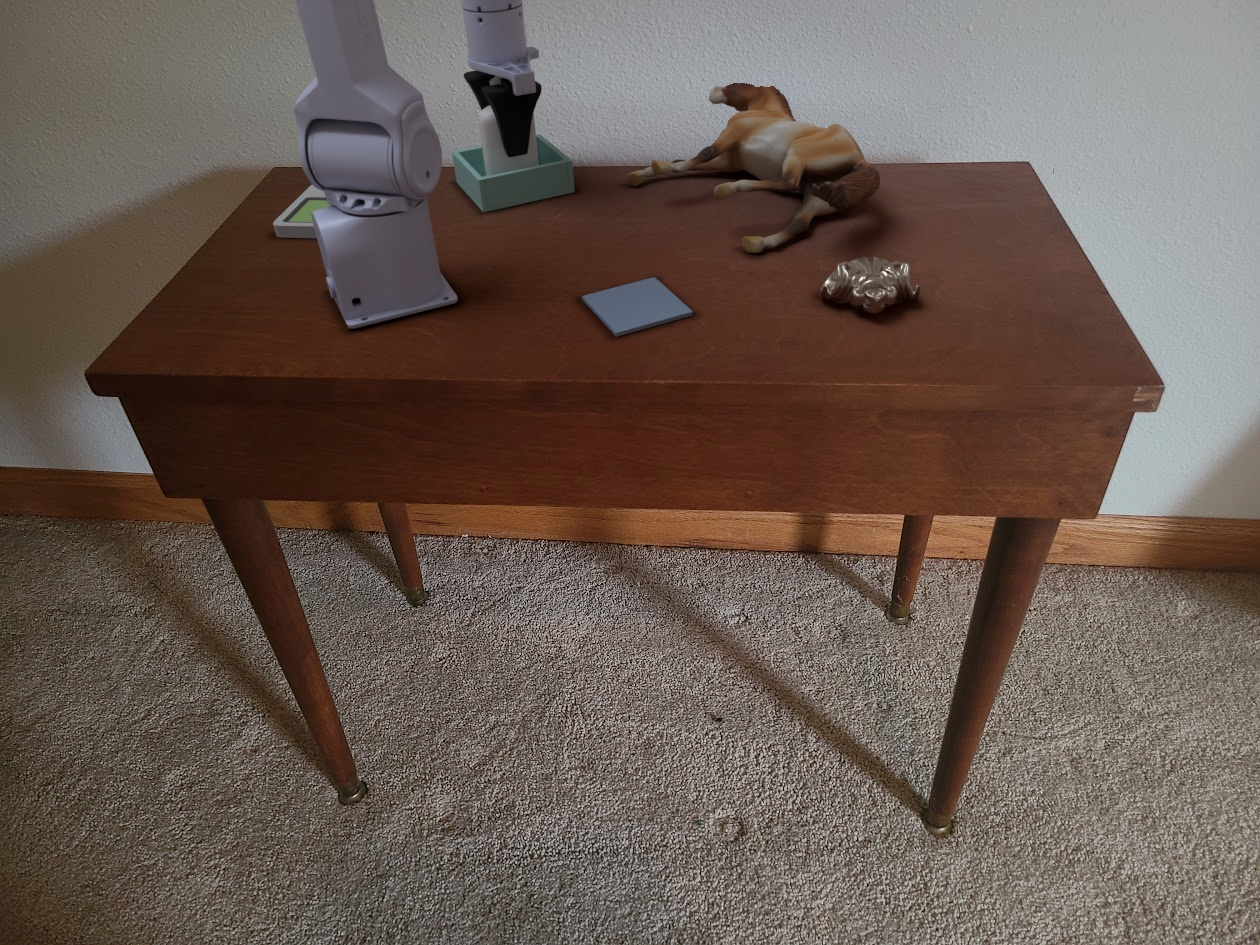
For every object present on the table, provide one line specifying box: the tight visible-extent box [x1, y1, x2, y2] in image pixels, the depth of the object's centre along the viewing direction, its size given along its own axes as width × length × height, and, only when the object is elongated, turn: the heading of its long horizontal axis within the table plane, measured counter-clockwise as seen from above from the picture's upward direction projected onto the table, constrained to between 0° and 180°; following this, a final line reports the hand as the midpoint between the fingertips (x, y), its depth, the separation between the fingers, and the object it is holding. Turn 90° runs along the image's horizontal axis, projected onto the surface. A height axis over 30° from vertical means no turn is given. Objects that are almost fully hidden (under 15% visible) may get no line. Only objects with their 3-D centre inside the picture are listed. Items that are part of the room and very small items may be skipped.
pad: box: [581, 276, 694, 338], centre depth 76 cm, size 7×7×1 cm
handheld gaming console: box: [272, 184, 331, 239], centre depth 94 cm, size 10×2×15 cm
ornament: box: [818, 256, 921, 314], centre depth 74 cm, size 8×7×4 cm
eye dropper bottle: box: [478, 76, 539, 176], centre depth 93 cm, size 4×6×12 cm
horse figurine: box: [626, 83, 881, 254], centre depth 90 cm, size 31×8×21 cm
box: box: [451, 134, 576, 213], centre depth 96 cm, size 10×9×3 cm
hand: (509, 148), depth 95 cm, fingers open, 4 cm apart
